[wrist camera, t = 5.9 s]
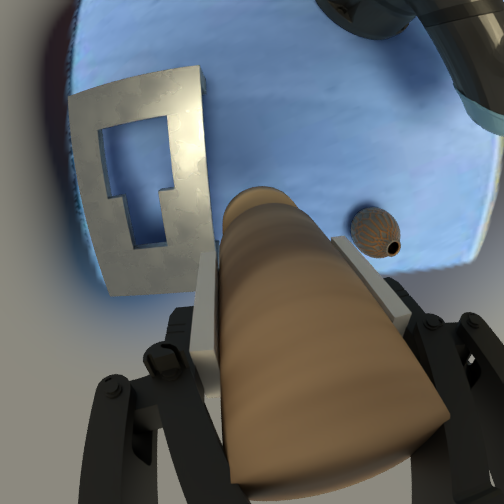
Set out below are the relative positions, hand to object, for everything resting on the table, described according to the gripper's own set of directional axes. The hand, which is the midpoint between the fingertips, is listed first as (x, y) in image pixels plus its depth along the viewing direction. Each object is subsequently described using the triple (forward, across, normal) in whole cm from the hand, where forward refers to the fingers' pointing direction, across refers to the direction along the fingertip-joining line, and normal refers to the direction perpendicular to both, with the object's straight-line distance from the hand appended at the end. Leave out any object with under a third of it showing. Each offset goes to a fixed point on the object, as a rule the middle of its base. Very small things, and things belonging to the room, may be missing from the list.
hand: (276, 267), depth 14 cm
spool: (+6, 0, 0) cm, 6 cm away
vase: (+23, +18, -8) cm, 30 cm away
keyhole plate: (+23, -11, +2) cm, 26 cm away
